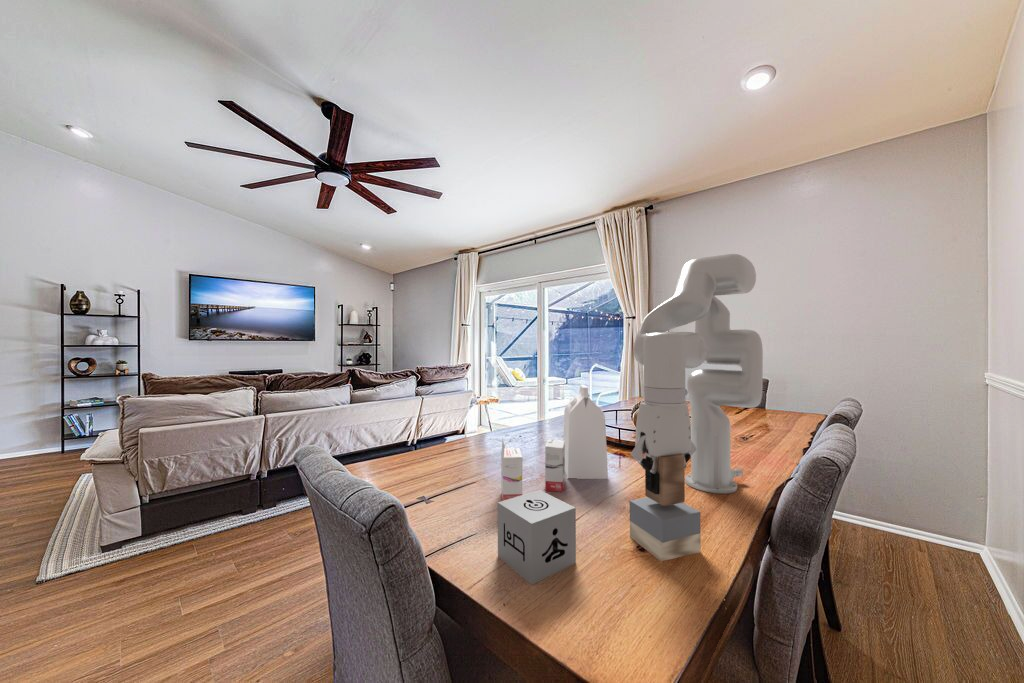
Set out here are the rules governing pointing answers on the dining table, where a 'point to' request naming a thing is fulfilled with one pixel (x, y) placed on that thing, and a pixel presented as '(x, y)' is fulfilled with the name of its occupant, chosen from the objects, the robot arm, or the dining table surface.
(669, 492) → the walnut block
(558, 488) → the ink box
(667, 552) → the tower base
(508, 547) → the icon cube
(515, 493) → the ink cartridge box
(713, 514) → the dining table surface
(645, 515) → the tower top
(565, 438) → the milk
